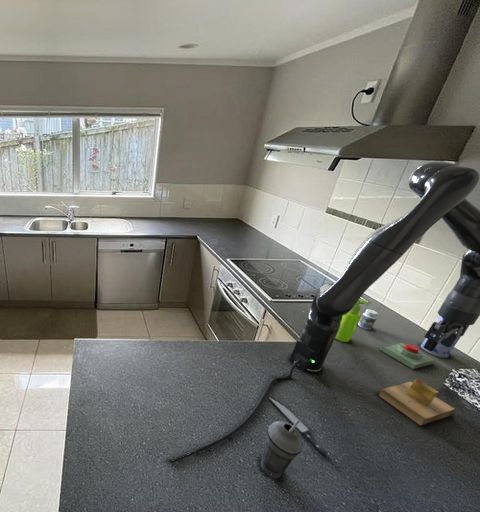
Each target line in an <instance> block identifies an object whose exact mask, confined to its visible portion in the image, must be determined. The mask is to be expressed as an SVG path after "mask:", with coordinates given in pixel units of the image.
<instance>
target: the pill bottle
mask: <svg viewBox="0 0 480 512" xmlns="http://www.w3.org/2000/svg"><path fill="white" fill-rule="evenodd" d="M378 315H379V313H378V312H377V311H376V310H373V309H370V308H367V309H366V310H365V311H364V312H363V313H362V314H361V318H360V320H359V322H358V324H357V326H358V327H360V328H361V329H364V330H372V328H373V326H374V324H375V322H376V321H377V318H378Z"/></svg>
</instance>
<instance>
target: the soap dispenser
mask: <svg viewBox="0 0 480 512" xmlns="http://www.w3.org/2000/svg"><path fill="white" fill-rule="evenodd" d="M361 303H362V304H364V305H365V306H371V305H372V304H371V303H370V302H368V301H367V300H365V299H363V298H362V297H360V299H359V300H358V301H357V303H356V304H355V305H354V307H353V308H352V309H351V310H350V311H349V312H348V313H347V314H345V315H343V317H342V320H341V325H340V329H339V331H338V333H337V335H336V337H335V339H336V340H337V341H339V342H343V343H348V342H350V340H351V339H352V336H353V334H354V332H355V331H356V328H357V326H358V323H359V321H360V319H361V317H362V314H361V312H360V310H361V309H362V307H361V305H360V304H361Z"/></svg>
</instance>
